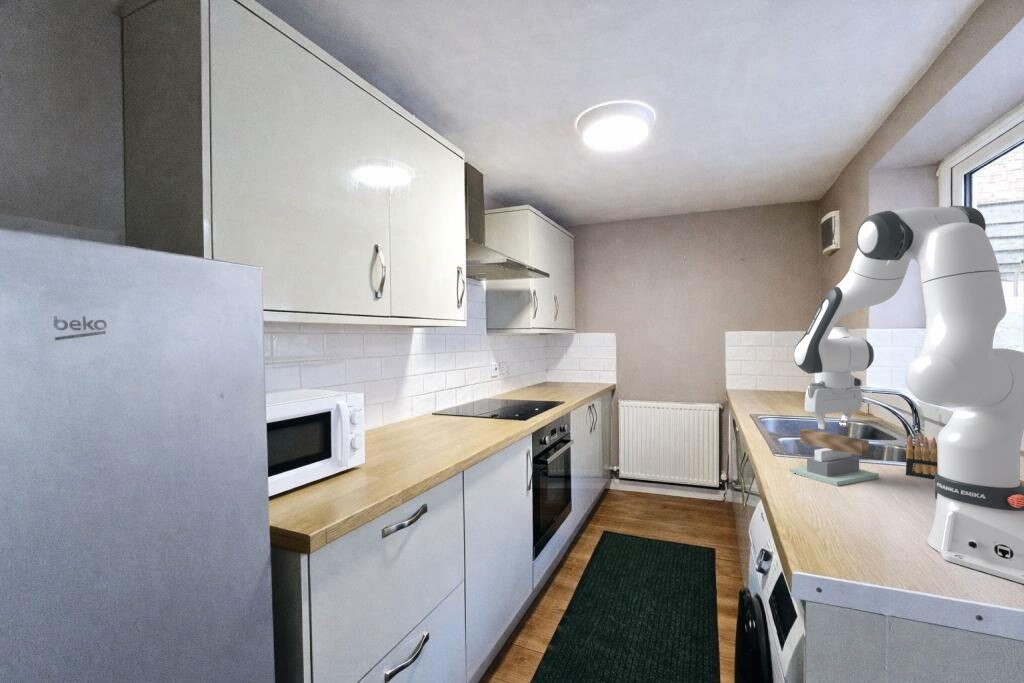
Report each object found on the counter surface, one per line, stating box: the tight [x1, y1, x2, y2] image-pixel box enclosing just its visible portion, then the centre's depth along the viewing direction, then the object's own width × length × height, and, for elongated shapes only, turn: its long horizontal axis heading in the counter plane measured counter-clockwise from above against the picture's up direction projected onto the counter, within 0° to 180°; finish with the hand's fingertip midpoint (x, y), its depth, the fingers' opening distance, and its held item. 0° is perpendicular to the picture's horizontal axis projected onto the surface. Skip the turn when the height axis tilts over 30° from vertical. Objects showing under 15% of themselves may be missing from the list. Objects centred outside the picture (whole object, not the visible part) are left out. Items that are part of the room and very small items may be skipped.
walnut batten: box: [799, 428, 870, 457], centre depth 136 cm, size 18×3×4 cm, turn 21°
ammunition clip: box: [905, 434, 938, 480], centre depth 132 cm, size 11×2×12 cm, turn 45°
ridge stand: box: [789, 448, 879, 487], centre depth 136 cm, size 14×18×8 cm
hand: (833, 427), depth 136 cm, fingers open, 8 cm apart
